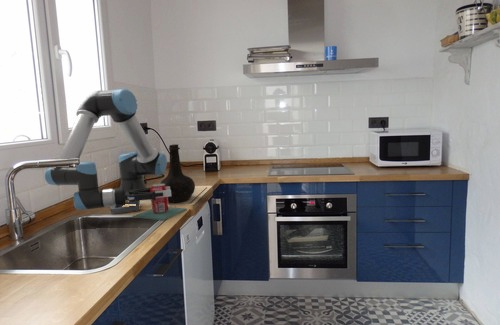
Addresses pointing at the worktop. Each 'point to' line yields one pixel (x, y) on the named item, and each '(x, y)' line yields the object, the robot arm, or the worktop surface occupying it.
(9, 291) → the worktop surface
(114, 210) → the gray square tray
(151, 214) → the mat
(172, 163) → the glass bottle
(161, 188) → the soda can
